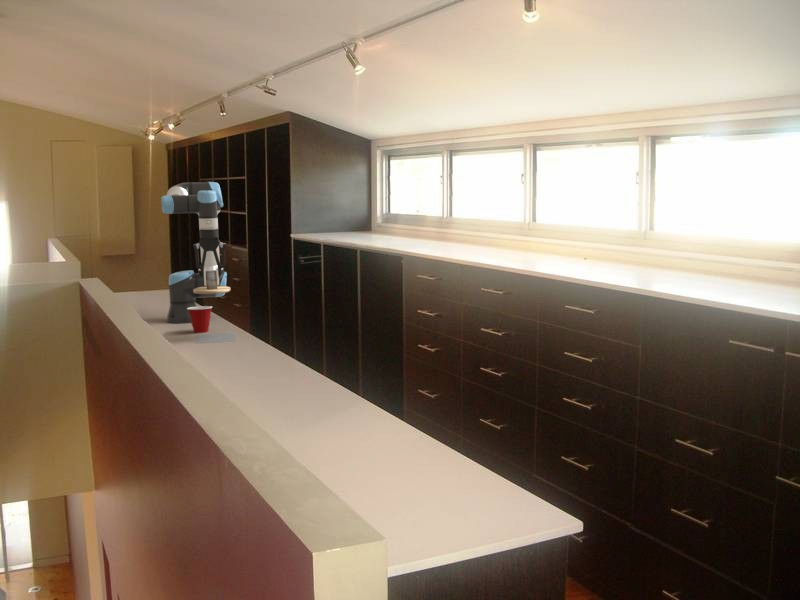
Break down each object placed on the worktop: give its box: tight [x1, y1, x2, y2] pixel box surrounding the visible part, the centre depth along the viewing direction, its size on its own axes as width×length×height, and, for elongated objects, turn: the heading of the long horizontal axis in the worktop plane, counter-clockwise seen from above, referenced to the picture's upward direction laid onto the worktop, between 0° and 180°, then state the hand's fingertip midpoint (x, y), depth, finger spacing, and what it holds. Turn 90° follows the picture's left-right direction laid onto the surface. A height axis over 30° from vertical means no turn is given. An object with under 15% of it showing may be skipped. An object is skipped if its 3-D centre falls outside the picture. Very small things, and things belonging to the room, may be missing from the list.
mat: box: [194, 332, 237, 344], centre depth 332 cm, size 17×16×1 cm
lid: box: [193, 271, 232, 294], centre depth 330 cm, size 15×15×8 cm
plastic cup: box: [187, 305, 213, 334], centre depth 346 cm, size 11×11×12 cm
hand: (211, 284), depth 330 cm, fingers closed on lid, 4 cm apart
